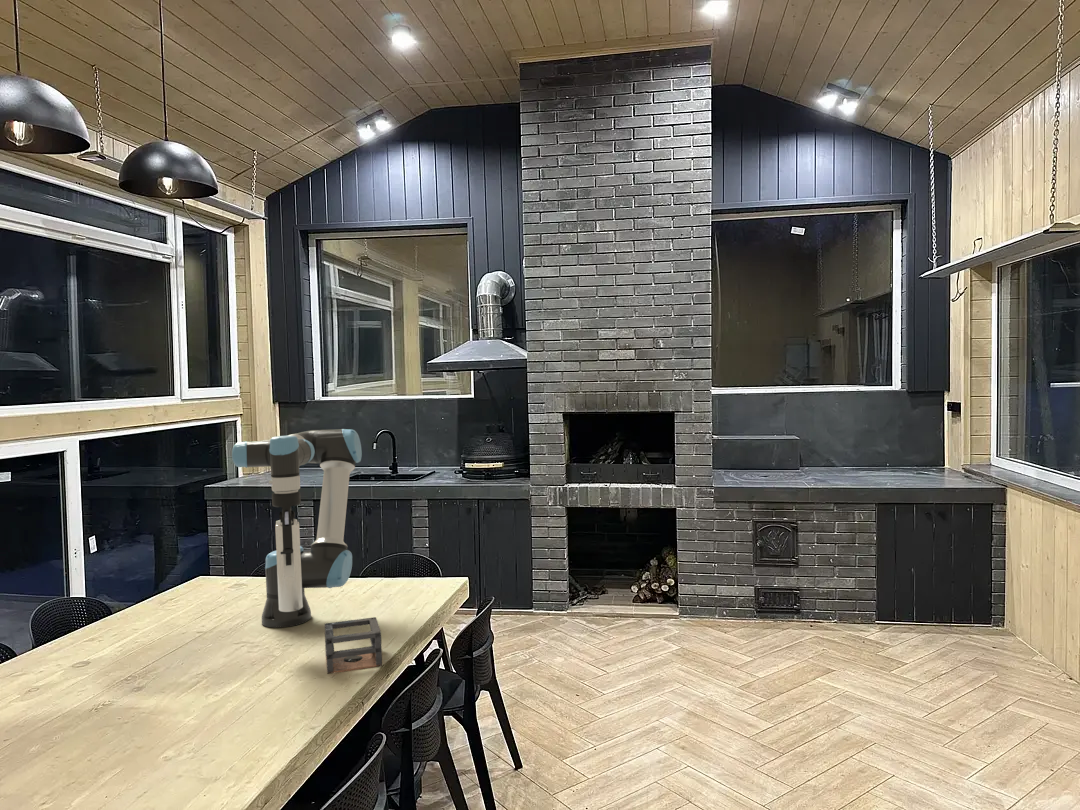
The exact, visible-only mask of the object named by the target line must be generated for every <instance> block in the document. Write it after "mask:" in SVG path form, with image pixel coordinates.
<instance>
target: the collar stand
mask: <svg viewBox="0 0 1080 810" xmlns="http://www.w3.org/2000/svg"><path fill="white" fill-rule="evenodd" d="M368 625H369V627H370V630H369V631H364V632H358V633H357V632H356V633H349V634H341V635H340V634H339V635H334V630H337V629H343V628H352V627H358V626H368ZM362 640H369V641H370V645H371V646H370V645H369V646H365V647H356V648H348V649H342V650H340V649H339V650H335V648H334V647H335V645H334V644H339V643H347V642H354V641H362ZM324 644H325V645H324V646H325V648H324V649H325V661H326V662H325V663H326V673H327V675H329V674H330V675H331V674H337V673H344V672H352V671H357V670H363V669H364V670H365V669H371V668H377V667H379V668H380V667H383V656H382V655H383V653H382V631H381V628H380V626H379V622H378V620H377V617H376V616H374V617H368V618H365V617H364V618H358V619H350V620H343V621H342V620H340V621H336V622H335V621H334V622H327V623H326V622H325V623H324Z"/></svg>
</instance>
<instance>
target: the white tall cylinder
mask: <svg viewBox="0 0 1080 810" xmlns="http://www.w3.org/2000/svg"><path fill="white" fill-rule="evenodd" d="M281 525H282V522H281V520H280V519H279V520H276V521H275V526H274V527H275V548H276V550H275V551H276V554H277V577H278V600H279V611H282V612H291V611H296V610H299V609H301V608H302V607H303V601H302V578H301V554H300V546H301V536H300V535H301V533H300V522H299V521H298V519H296V518H294V525H292V542H293V552H294V576H291V577H284V563H283V554H281V552H283V532H282V526H281Z"/></svg>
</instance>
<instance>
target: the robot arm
mask: <svg viewBox="0 0 1080 810" xmlns="http://www.w3.org/2000/svg"><path fill="white" fill-rule="evenodd" d="M362 450H363V449H362V444H361V439H360V436H359V434H358V432H357V431H356V430H355V429H352V428H351V429H346V428H341V429H338V428H337V429H311V430H306V431H301V432H298V433H297V432H296V433H292V434H288V435H278V436H273V437H271V438H270V439H263V440H256V441H247V440H246V441H239V442H236V443H235V444H234V445H233V447H232V449H231V460H232V463H233V464H234V466H235V467H237V468H246V469H247V468H260V467H261V468H263V467H265V468H266V467H270V477H271V480H269V482H268V484H269V485H271V491H272V493H271V504H272V507H275V508H282V509H281V511H279V516H278V517H279V520H281V522H282V525H281V526H282V532H283V552H281V554H283V563H284V577H291V576H294V552H293V542H292V525H294V519H295V515H296V513H295V510H293V509H292V507H296V506H298V505H300V504H301V501H302V500H301V498H302V497H301V491H300V489H301V477H300V476H301V475H300V466H304V465H307V464H319V467H320V468H321V470H322V471H323V477H322V487H321V495H320V503H319V504H320V505H319V513H318V524H317V531H316V539H315V540H314V542H313V543H311V545H310V550H308V551H305V549H304V547H303V546H301V545H300V554H301V578H302V601H303V607H302V608H301V609H299V610H296V611H291V612H282V611H279V600H278V577H277V554H276V550H273V551H271V552H270V553H268V554H267V555H266V557H265V567H264V570H265V588H266V600H265V604H264V607H263V611H262V614H261V625H263V626H264V627H267V628H274V629H275V628H287V627H294V626H298V625H301V624H304V623H306V622H308V621H310V620H311V618H312V611H311V607H310V605H309V603H308V602H309V601H308V600H307V599H308V598H307V597H306V594H305V589H321V588H323V589H324V588H325V589H326V588H328V589H333V588H340V587H343V586H345V585H346V583H347V582H348V580H349V578H350V576H351V572H352V567H353V554H352V552H351V551H350V550H349V549H348V544H347V543H345V541H344V535H345V526H346V519H347V518H346V515H347V508H348V507H347V505H348V495H349V483H350V474H351V473H352V472H353V471H354V470H355V468H356V463H357V464H358V463H361V461H362V456H363V454H362V453H363V452H362Z"/></svg>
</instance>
